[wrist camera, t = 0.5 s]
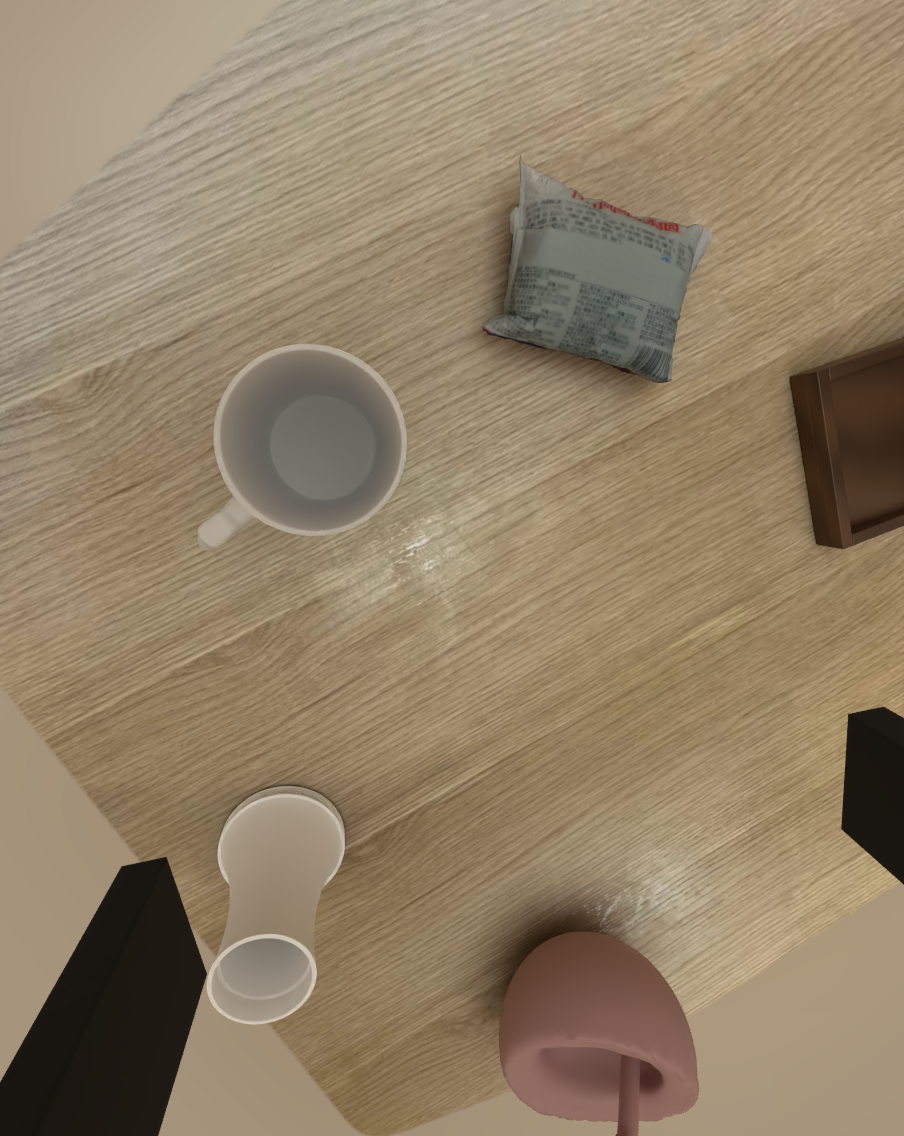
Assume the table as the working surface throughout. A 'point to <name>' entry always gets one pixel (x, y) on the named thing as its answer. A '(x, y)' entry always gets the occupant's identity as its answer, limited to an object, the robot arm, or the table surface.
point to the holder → (853, 444)
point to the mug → (305, 444)
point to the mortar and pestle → (596, 1035)
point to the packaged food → (595, 278)
